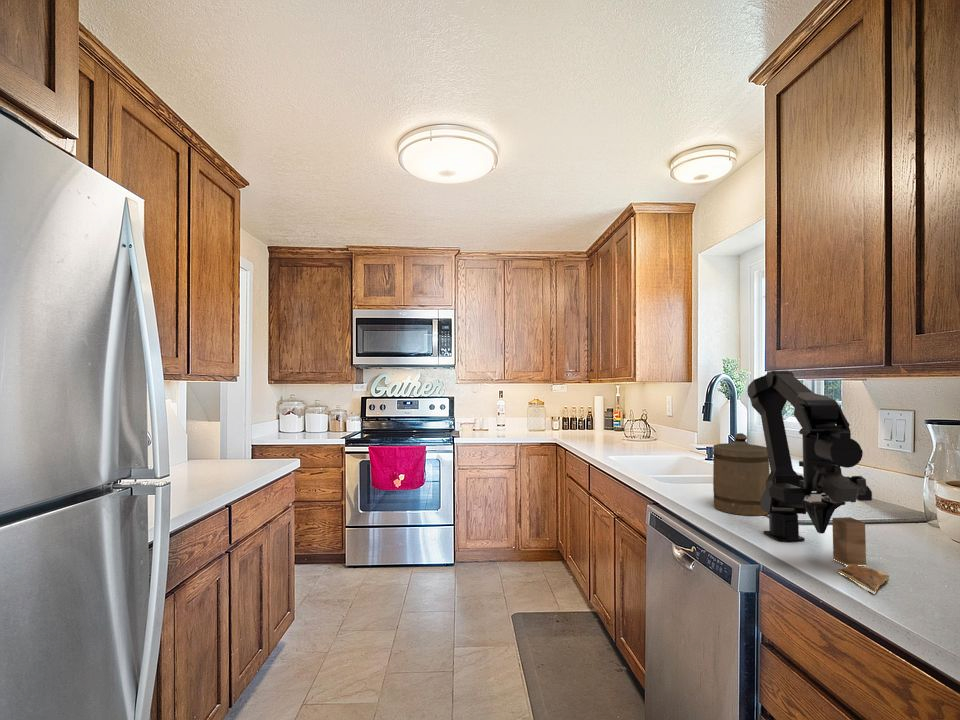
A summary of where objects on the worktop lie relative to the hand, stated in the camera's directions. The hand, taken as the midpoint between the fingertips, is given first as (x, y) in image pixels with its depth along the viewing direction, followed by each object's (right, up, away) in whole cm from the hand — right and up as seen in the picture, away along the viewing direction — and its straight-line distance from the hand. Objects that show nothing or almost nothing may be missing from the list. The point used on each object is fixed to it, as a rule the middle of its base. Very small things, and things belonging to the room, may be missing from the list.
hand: (820, 533), depth 108 cm
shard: (+4, -7, -9) cm, 12 cm away
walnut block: (+6, -6, 0) cm, 9 cm away
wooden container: (+5, -7, +42) cm, 43 cm away
